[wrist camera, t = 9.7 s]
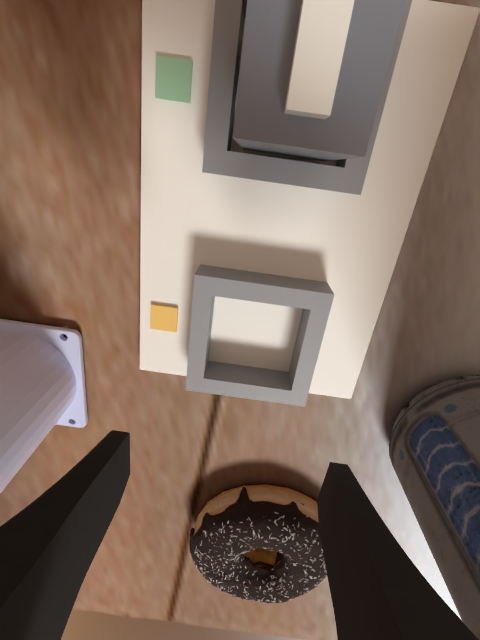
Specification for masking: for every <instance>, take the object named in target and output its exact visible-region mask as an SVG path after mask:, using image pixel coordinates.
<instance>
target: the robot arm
mask: <svg viewBox="0 0 480 640" xmlns="http://www.w3.org/2000/svg"><path fill="white" fill-rule="evenodd" d="M63 334H65V335H66V336H67V337H68V338H65V337H64V336H63ZM72 419H73V420H72ZM74 420H75V421H74ZM87 422H88V415H87V402H86V388H85V375H84V362H83V349H82V337H81V334H80V333H79V331H77V330H75V329H69V328H62V327H55V326H48V325H41V324H34V323H26V322H19V321H12V320H5V319H0V493H1V492H2V491H3V490H4V488H5V487H6V486H7V485H8V483H9V482H10V481H11V479H12V478H13V477H14V476H15V474H16V473H17V472H18V471H19V469H20V468H21V467H22V466H23V464H24V463H25V462H26V461H27V459H28V458H29V457H30V456H31V454H32V453H33V452H34V451H35V449H36V448H37V447H38V445H39V444H40V443H41V442H42V440H43V439H44V438H45V437H46V435H47V434H48V433H49V432H50V430H51V429H52V428H53V427H54V425H55V424H57V425H65V426H72V427H79V428H82V427H85V425H86V424H87ZM129 475H130V433H128V432H121V431H114V430H112V431H111V432H109V433H108V434H107V435H106V436H105V438H104V439H103V440H102V441H101V442H99V443H98V444H97V445H96V446H95V447H94V448H93V449H92V450H91V451H90V452H89V453H88V454H87V455H86V456H85V457H84V458H83V459H82V460H81V461H80V462H79V463H78V464H77V465H75V466H74V467H73V468H72V469H71V470H70V471H69V472H68V473H67V474H66V475H64V476H63V477H62V478H61V479H60V480H59V481H58V482H56V483H55V484H54V485H53V486H52V487H50V488H49V489H48V490H47V491H46V492H44V493H43V494H42V495H41V496H40V497H38V498H37V499H36V500H35V501H34V502H32V503H31V504H30V505H28V506H27V507H26V508H25V509H23V510H22V511H21V512H19V513H18V514H17V515H15V516H14V517H13V518H11V519H10V520H9V521H7V522H6V523H4V524H3V525H2V526H0V640H61V637H62V635H63V631H64V629H65V626H66V624H67V621H68V618H69V616H70V613H71V611H72V608H73V605H74V603H75V600H76V597H77V595H78V592H79V590H80V587H81V585H82V583H83V580H84V578H85V576H86V573H87V571H88V569H89V567H90V565H91V563H92V561H93V559H94V556H95V554H96V552H97V550H98V548H99V546H100V544H101V542H102V540H103V538H104V535H105V533H106V531H107V529H108V527H109V525H110V523H111V521H112V519H113V516H114V514H115V512H116V510H117V508H118V506H119V504H120V501H121V498H122V495H123V493H124V490H125V487H126V484H127V481H128V478H129ZM317 507H318V521H319V532H320V538H321V544H322V549H323V555H324V560H325V565H326V571H327V576H328V581H329V586H330V592H331V597H332V602H333V608H334V614H335V620H336V627H337V637H338V640H479V639H478V638H477V637H476V636H475V635H474V634H473V633H472V631H471V630H470V629H469V628H468V627H467V626H466V625H465V624H464V623H463V622H462V621H461V619H460V618H459V617H458V616H457V615H456V614H455V613H454V612H453V611H452V610H451V609H450V608H449V606H448V605H447V604H446V603H445V602H444V601H443V599H442V598H441V597H440V596H439V595H438V594H437V593H436V591H435V590H434V589H433V588H432V586H431V585H430V584H429V583H428V582H427V580H426V579H425V578H424V577H423V575H422V574H421V573H420V572H419V570H418V569H417V568H416V566H415V565H414V564H413V563H412V561H411V560H410V559H409V557H408V556H407V555H406V553H405V552H404V550H403V549H402V548H401V546H400V545H399V544H398V542H397V541H396V539H395V538H394V537H393V535H392V534H391V532H390V531H389V529H388V528H387V526H386V525H385V523H384V522H383V520H382V519H381V517H380V516H379V514H378V513H377V511H376V510H375V508H374V507H373V505H372V504H371V502H370V500H369V499H368V497H367V496H366V494H365V492H364V491H363V489H362V488H361V486H360V484H359V483H358V481H357V479H356V478H355V476H354V474H353V473H352V471H351V469H350V468H349V466H348V465H346V464H339V463H332V462H330V464H329V467H328V470H327V473H326V476H325V479H324V482H323V485H322V488H321V491H320V494H319V497H318V500H317Z"/></svg>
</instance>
